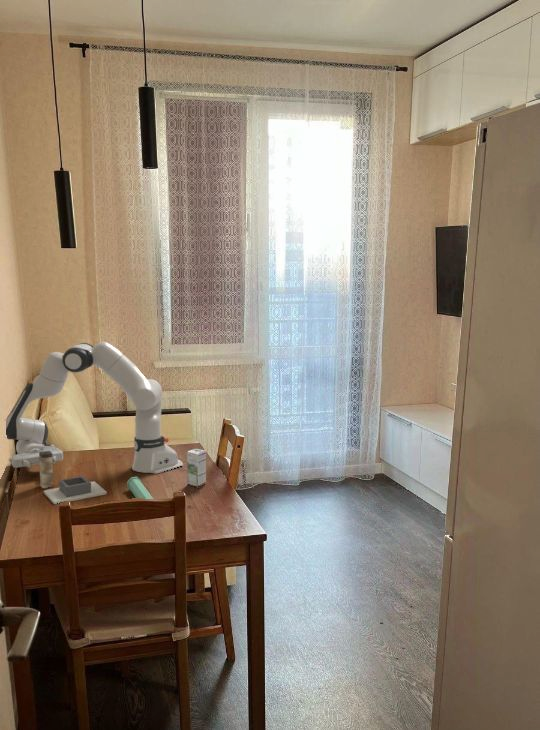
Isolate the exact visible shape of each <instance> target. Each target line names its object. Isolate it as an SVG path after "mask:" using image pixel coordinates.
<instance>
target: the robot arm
mask: <svg viewBox="0 0 540 730" xmlns="http://www.w3.org/2000/svg"><path fill="white" fill-rule="evenodd" d="M92 366H96V367H98V368H100V369H101V370H102V371H103V372H104V373H105V374H106V375H107V376H108V377H109V378H111V379H112V380H113V381H114V382H115V383H116V384H117V385H118V386H119V387H120V388H121V389H122V391H123V392H124V393H125V394H126V396H127V397H128V398H129V399H130V400H131V401H132V403H133V405H134V406H135V408H136V410H135V419H134V421H135V422H134V426H135V427H134V428H135V429H134V431H135V432H134V434H135V436H134V440H133V441H134V444H133V446H134V447H133V448H134V456H133V462H132V467H131V469H132V471H134V472H139V473H144V474H145V473H147V474H149V473H150V474H160V473H161V474H162V473H165V472H168V471H171V469H172V470H175V469H174V468H176V469H178V468H177V467H179V468H181V467H180V466H182V467H184V463H183V461H181V460H180V459H178V453H177V451H176V450H174V449H173V448H172V447H170V446H169V445H167V444H166V443H168V442H170V441H169V440H170V439H169V438H168V437H167V436H165V437H164V436H163V435H162V430H161V429H162V427H161V426H162V425H161V424H162V423H161V422H162V421H161V420H162V419H161V418H162V403H163V388H162V385H161V384H160V383H159V382H158V381H157V380H155V379H153V378H148V379H147V378H146V377H145V375H144V374H143V373H142V372H141V371H140V370H139V368H138V366H137V365H136V364H135V363H134V362H132V361H131V359H129V358H128V356H126V355H125V354H124V353H123V352H122V351H120V350H119V349H118V348H116V346H114V345H112V344H110V343H109V342H107V341H100V342H98V343H97V344H95V345H94V346H93V344H90V343H87V342H81V343H78V344H75V345H73V346H71V347H70V348H68V349H67V350H66V351H65V352H64V353H63V352H60V351H53V352H51V353H49V354H48V355H47V357H46V358H45V361H44V362H43V364H42V367H41V369H40V372H39V374H38V376H37V378H35V380H34V381H32V382H30V383H27V385H25V387H24V389H23V390H22V392H21V394H20V395H19V397H18V399H17V401H16V402H15V404H14V405H13V407H12V409H11V411H10V413H9V414H8V416H7V417H6V418H7V419H6V418H5V420H6V435H7V438H6V439H7V440H13V441H14V440H18V441H17V442H16V446H15V448H16V452H17V454H14V455H12V456H11V457H9V458H8V462H11V465H12V467H13V468H16V469H17V468H22V467H27V468H32V467H33V466H38V465H40V462H39V452H44V451H50V452H51V453H52V462H53V464H55V463H57V462H61V461H63V460H64V452H63V451H62V450H61V449H60V448H58V447H56V446H55V444H46V442H47V441H48V440H47V439H48V437H49V428H48V424H47V423H46V422H45V421H44V420H41V419H35V418H28V417H22V416H23V414H24V413H25V411H26V409H27V408H28V406H29V405H30V403H31V402H33V401H35V400H39V399H45V398H52V397H53V396H56V395H59V394H60V393H61V392H62V390H63V388H64V386H65V383H66V380H67V379H68V378H67V377H68V375H69V373H70V372H71V373H80V372H83V371H86V370H88V369H89V368H90V367H92ZM167 470H168V471H167ZM164 471H165V472H164Z"/></svg>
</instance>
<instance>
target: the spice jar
mask: <svg viewBox="0 0 540 730" xmlns="http://www.w3.org/2000/svg"><path fill="white" fill-rule="evenodd" d="M39 462H40V464H39V486H40V487H41V489H43V488H44V489H49V488H53V487H54V467H53V464H54V463H53V462H52V453H51V452H50V451H44V452H39ZM48 487H49V488H48Z"/></svg>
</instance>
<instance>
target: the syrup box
mask: <svg viewBox="0 0 540 730" xmlns="http://www.w3.org/2000/svg"><path fill="white" fill-rule="evenodd" d="M186 454H187V455H186V457H187V458H186V460H187V462H186V463H187V466H186V467H187V471H186V472H187V473H186V474H187V477H186V478H187V479H186V480H187V482H186V483H187V484H191V485H196V486H198V485H200V484H202V483H204V482H206V483H207V451H206V450H204V449H199V448H193V449H190V450H188V451H186Z"/></svg>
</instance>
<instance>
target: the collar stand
mask: <svg viewBox="0 0 540 730" xmlns="http://www.w3.org/2000/svg"><path fill="white" fill-rule="evenodd" d="M58 486H59V487H55V488H50V489H49V488H48V489H46V490H43V494H44V495H45V496H46V498H48V499H49V501H51V503H53V505H54V504H55V505H60V504H61V503H60V502H64V501H70V502H73V501H79V500H83V499H89V498H94V497H99V496H104V495H107V494H108V493H107V491H106V490H105V489H104V488H103V487H101V486H100V484H98V483H97V482H96V481H89V479H88V478H86V477H85V476H84V475H80V476H74V477H68V478H62V479H59V480H58ZM57 503H58V504H57ZM59 503H60V504H59Z"/></svg>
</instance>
